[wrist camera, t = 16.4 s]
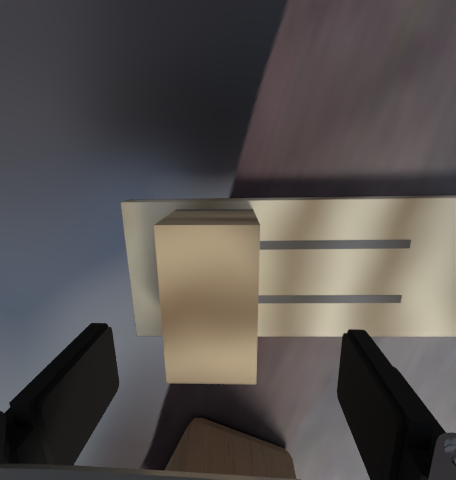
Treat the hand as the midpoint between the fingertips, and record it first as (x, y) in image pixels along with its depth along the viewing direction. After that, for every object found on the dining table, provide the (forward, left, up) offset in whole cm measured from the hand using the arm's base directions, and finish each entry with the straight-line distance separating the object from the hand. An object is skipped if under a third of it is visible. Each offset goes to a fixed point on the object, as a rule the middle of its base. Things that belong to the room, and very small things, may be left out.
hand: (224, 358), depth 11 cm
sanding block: (+1, 0, -8) cm, 8 cm away
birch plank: (-5, 0, -10) cm, 11 cm away
